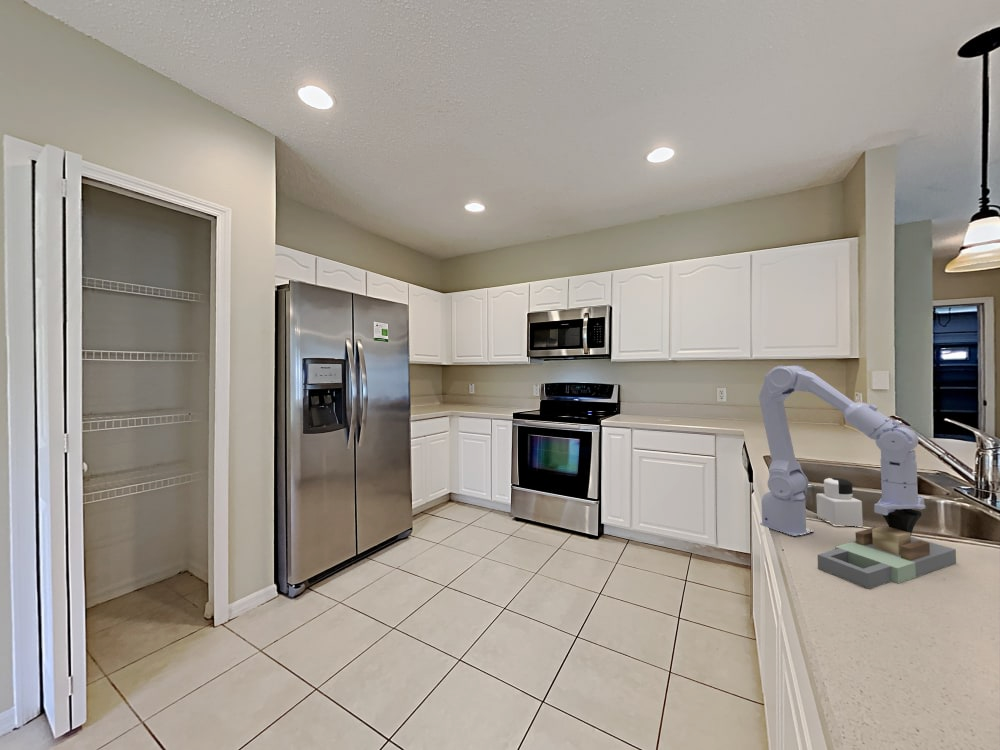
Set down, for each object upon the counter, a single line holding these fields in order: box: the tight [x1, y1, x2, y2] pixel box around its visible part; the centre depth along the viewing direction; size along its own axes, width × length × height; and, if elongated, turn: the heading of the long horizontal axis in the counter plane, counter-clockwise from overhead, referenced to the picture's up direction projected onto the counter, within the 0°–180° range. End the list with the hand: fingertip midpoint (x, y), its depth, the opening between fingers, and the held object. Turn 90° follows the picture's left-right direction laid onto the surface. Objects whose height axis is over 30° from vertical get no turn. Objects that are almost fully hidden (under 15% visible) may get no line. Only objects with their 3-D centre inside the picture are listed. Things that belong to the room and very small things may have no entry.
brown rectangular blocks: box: [855, 526, 930, 561], centre depth 87 cm, size 10×7×2 cm
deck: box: [817, 536, 957, 590], centre depth 87 cm, size 11×28×3 cm, turn 110°
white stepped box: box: [816, 477, 864, 528], centre depth 111 cm, size 7×7×12 cm
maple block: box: [872, 525, 912, 555], centre depth 87 cm, size 4×4×4 cm
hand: (901, 541), depth 89 cm, fingers closed
